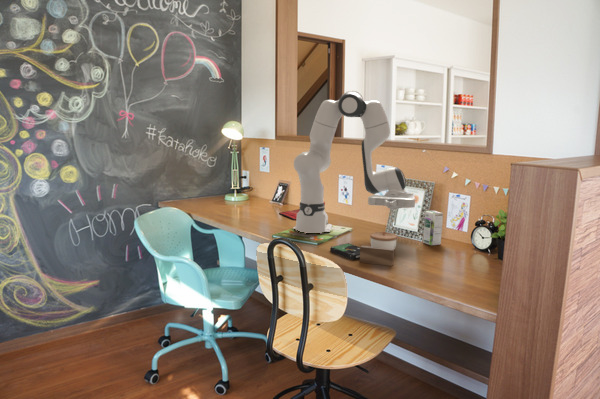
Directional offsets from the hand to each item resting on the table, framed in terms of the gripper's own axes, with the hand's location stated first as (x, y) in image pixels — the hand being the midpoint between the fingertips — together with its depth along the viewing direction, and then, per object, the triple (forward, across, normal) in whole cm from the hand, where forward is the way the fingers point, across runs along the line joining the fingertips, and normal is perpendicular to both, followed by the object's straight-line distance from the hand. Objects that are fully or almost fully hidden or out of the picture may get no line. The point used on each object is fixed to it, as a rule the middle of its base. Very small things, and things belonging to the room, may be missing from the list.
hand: (389, 204), depth 198 cm
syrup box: (-14, +18, +19) cm, 29 cm away
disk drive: (+16, -12, +19) cm, 28 cm away
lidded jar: (+11, 0, +19) cm, 22 cm away
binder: (-47, -58, +19) cm, 77 cm away
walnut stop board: (+25, -1, +19) cm, 31 cm away
